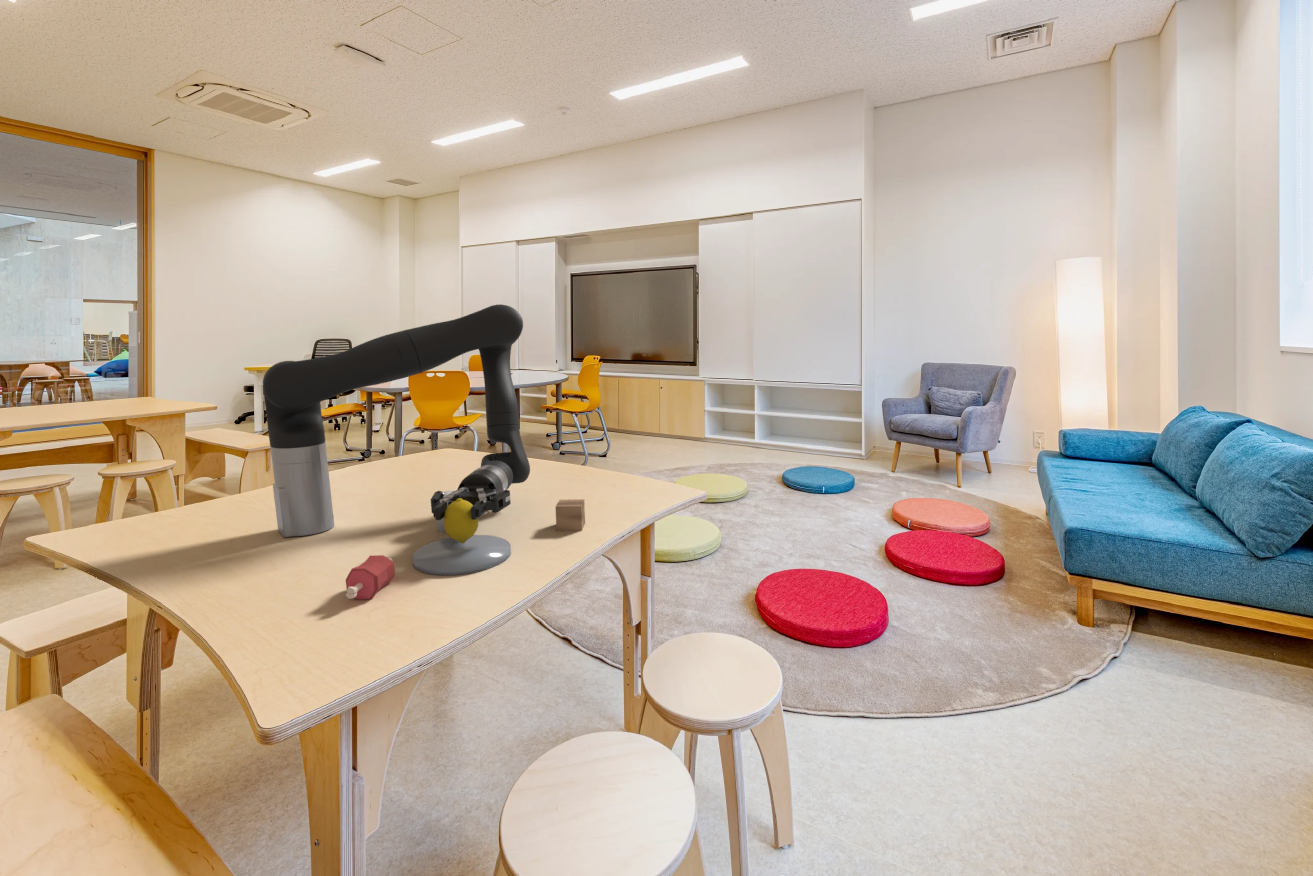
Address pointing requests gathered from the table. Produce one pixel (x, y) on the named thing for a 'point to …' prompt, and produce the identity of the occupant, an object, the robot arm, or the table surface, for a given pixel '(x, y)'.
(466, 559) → the slate dish
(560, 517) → the walnut block
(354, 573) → the meat
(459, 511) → the lemon
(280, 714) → the table surface
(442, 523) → the grey cylinder
